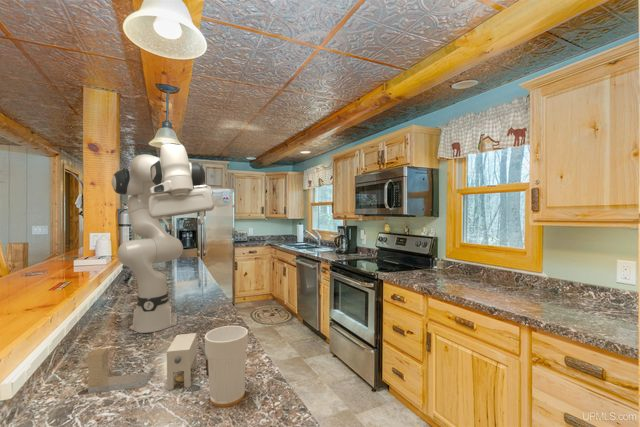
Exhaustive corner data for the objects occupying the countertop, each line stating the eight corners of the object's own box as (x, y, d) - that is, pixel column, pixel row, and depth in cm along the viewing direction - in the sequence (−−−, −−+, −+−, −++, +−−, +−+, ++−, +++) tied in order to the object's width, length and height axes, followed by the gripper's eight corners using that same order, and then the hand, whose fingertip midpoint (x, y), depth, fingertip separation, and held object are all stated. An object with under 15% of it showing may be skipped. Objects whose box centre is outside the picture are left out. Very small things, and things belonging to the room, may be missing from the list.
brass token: (177, 375, 94) (177, 373, 94) (192, 374, 95) (192, 371, 95) (173, 383, 90) (173, 381, 90) (189, 381, 91) (189, 379, 91)
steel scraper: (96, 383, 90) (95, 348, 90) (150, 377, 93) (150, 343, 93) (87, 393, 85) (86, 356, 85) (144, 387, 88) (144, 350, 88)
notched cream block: (177, 368, 98) (176, 334, 98) (197, 366, 99) (196, 333, 99) (166, 392, 85) (165, 353, 85) (189, 389, 87) (188, 350, 87)
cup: (253, 384, 89) (252, 325, 88) (242, 410, 77) (241, 342, 77) (215, 384, 89) (214, 325, 89) (198, 409, 78) (197, 342, 77)
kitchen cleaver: (233, 369, 97) (199, 374, 93) (233, 372, 97) (199, 377, 93) (226, 340, 119) (198, 343, 115) (225, 342, 119) (198, 346, 115)
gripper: (211, 186, 111) (217, 223, 109) (148, 194, 104) (154, 233, 102) (211, 181, 105) (217, 220, 103) (144, 189, 98) (150, 230, 96)
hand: (185, 226), depth 102 cm, fingers open, 8 cm apart
